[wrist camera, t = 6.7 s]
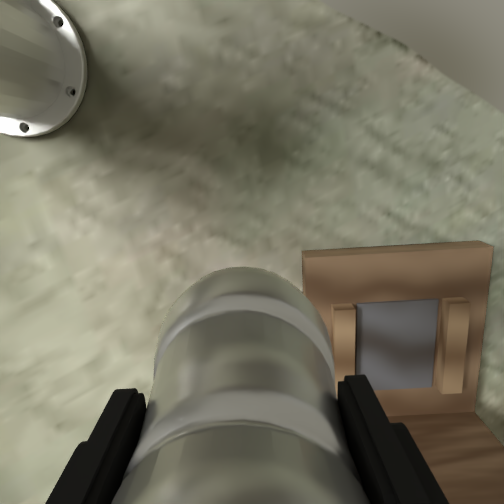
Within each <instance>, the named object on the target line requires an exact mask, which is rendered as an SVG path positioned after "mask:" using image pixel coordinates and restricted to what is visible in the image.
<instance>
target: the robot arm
mask: <svg viewBox="0 0 504 504" xmlns="http://www.w3.org/2000/svg"><path fill="white" fill-rule="evenodd" d="M62 22H63V26H62V27H61V23H62ZM87 74H88V72H87V59H86V55H85V51H84V47H83V43H82V41H81V38H80V36H79V34H78V32H77V29H76V28H75V26H74V25H73V23H72V21H71V20H70V18H69V17H68V15H67V14H66V13H65V12H64V11H63V10H62V9H61V8H60V7H59V5H58V4H56V3H55V2H54V1H53V0H0V133H2V134H6V135H9V136H19V137H35V136H40V135H44V134H48V133H50V132H52V131H54V130H56V129H58V128H60V127H61V126H62V125H64V124H65V123H66V122H68V121H69V119H70V118H71V117H72V116H73V115H74V114H75V112H76V111H77V109H78V107H79V105H80V103H81V102H82V99H83V96H84V93H85V89H86V84H87ZM73 90H75V91H76V93H75V95H73ZM27 126H29V130H28V128H27ZM337 401H338V405H339V409H340V414H341V418H342V422H343V426H344V430H345V434H346V438H347V443H348V447H349V451H350V453H351V456H352V458H353V460H354V463H355V465H356V468H357V470H358V473H359V475H360V478H361V481H362V484H363V488H364V492H365V493H366V495H367V497H368V499H369V501H370V503H371V504H449V502H448V500H447V498H446V497H445V495H444V493H443V491H442V489H441V488H440V486H439V484H438V482H437V481H436V479H435V477H434V475H433V473H432V472H431V470H430V468H429V466H428V464H427V463H426V461H425V459H424V457H423V455H422V454H421V452H420V450H419V448H418V447H417V445H416V443H415V441H414V439H413V438H412V436H411V434H410V432H409V430H408V429H407V427H406V426H405V424H403V423H402V422H398V423H390V422H389V420H388V418H387V416H386V414H385V412H384V410H383V408H382V406H381V404H380V402H379V400H378V398H377V396H376V394H375V392H374V390H373V388H372V386H371V384H370V382H369V380H368V378H367V377H366V375H364V374H362V375H345V376H344V381H338V390H337ZM145 413H146V403H145V397H144V394H143V393H138V391H137V389H135V388H132V389H116V390H115V391H114V392H113V394H112V395H111V397H110V399H109V401H108V403H107V405H106V407H105V409H104V411H103V412H102V414H101V416H100V418H99V420H98V422H97V424H96V426H95V428H94V430H93V431H92V433H91V435H90V437H89V439H88V441H84V442H81V443H80V444H79V445H78V446H77V448H76V449H75V451H74V453H73V455H72V456H71V458H70V460H69V462H68V464H67V465H66V467H65V469H64V471H63V473H62V474H61V476H60V478H59V480H58V482H57V483H56V485H55V487H54V489H53V491H52V493H51V494H50V496H49V498H48V500H47V502H46V503H45V504H111V503H112V501H113V499H114V497H115V495H116V493H117V491H118V490H119V488H120V486H121V484H122V480H123V476H124V473H125V471H126V469H127V467H128V464H129V462H130V460H131V458H132V455H133V453H134V451H135V448H136V446H137V444H138V441H139V437H140V433H141V429H142V425H143V421H144V417H145Z"/></svg>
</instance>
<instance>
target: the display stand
mask: <svg viewBox="0 0 504 504" xmlns="http://www.w3.org/2000/svg"><path fill="white" fill-rule="evenodd" d="M493 248H494V247H493V246H490V245H488V244H486V243H483V242H481V241H462V242H445V243H428V244H411V245H394V246H377V247H360V248H343V249H326V250H309V251H302V275H303V294H304V295H305V296H306V297H307V298H308V299H309V301H310V302H311V303H312V304H313V306H314V307H315V308H316V309H317V311H318V312H319V313H320V315H321V317H322V319H323V321H324V323H325V325H326V327H327V330H328V334H329V338H330V341H331V347H332V352H333V358H334V369H335V390H336V394H337V390H338V381H344V376H345V375H362V374H364V375H366V377H367V378H368V380H369V382H370V384H371V386H372V388H373V390H374V392H375V394H376V396H377V398H378V400H379V402H380V404H381V406H382V408H383V410H384V412H385V414H386V416H387V418H388V420H389V422H390V423H398V422H402V423H403V424H405V426H406V427H407V429H408V430H409V432H410V434H411V436H412V438H413V439H414V441H415V443H416V445H417V447H418V448H419V450H420V452H421V454H422V455H423V457H424V459H425V461H426V463H427V464H428V466H429V468H430V470H431V472H432V473H433V475H434V477H435V479H436V481H437V482H438V484H439V486H440V488H441V489H442V491H443V493H444V495H445V497H446V498H447V500H448V502H449V504H504V446H503V445H502V444H501V443H500V442H499V440H498V439H497V438H496V437H495V436H494V434H493V433H492V432H491V431H490V430H489V428H488V427H487V426H486V425H485V424H484V422H483V421H482V420H481V419H480V418H479V417H478V415H477V414H476V413H475V403H476V394H477V386H478V377H479V369H480V360H481V351H482V343H483V334H484V325H485V317H486V308H487V300H488V291H489V282H490V274H491V265H492V256H493Z"/></svg>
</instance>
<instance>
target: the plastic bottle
mask: <svg viewBox="0 0 504 504" xmlns="http://www.w3.org/2000/svg"><path fill="white" fill-rule="evenodd" d="M111 504H371V503H370V501H369V499H368V497H367V495H366V493H365V492H364V488H363V484H362V481H361V478H360V475H359V473H358V470H357V468H356V465H355V463H354V460H353V458H352V456H351V453H350V451H349V447H348V443H347V438H346V434H345V430H344V426H343V422H342V418H341V414H340V409H339V405H338V401H337V394H336V390H335V369H334V358H333V352H332V347H331V341H330V338H329V334H328V330H327V327H326V325H325V323H324V321H323V319H322V317H321V315H320V313H319V312H318V311H317V309H316V308H315V307H314V306H313V304H312V303H311V302H310V301H309V299H308V298H307V297H306V296H305V295H304V294H303V293H302V292H301V291H300V290H299V289H298V288H296V287H295V286H294V285H293V284H292V283H290V282H289V281H288V280H286V279H284V278H283V277H281V276H279V275H277V274H275V273H272V272H269V271H266V270H263V269H259V268H251V267H232V268H226V269H223V270H219V271H215V272H213V273H211V274H209V275H207V276H205V277H203V278H201V279H200V280H198V281H197V282H196V283H194V284H193V285H192V286H191V287H189V288H188V289H187V290H186V291H185V292H184V293H183V294H182V295H181V296H180V297H179V298H178V299H177V301H176V302H175V303H174V304H173V305H172V307H171V308H170V309H169V311H168V313H167V315H166V317H165V319H164V321H163V323H162V326H161V330H160V334H159V337H158V342H157V347H156V352H155V358H154V382H153V386H152V390H151V394H150V398H149V402H148V406H147V409H146V413H145V417H144V421H143V425H142V429H141V433H140V437H139V441H138V444H137V446H136V448H135V451H134V453H133V455H132V458H131V460H130V462H129V464H128V467H127V469H126V471H125V473H124V476H123V480H122V484H121V486H120V488H119V490H118V491H117V493H116V495H115V497H114V499H113V501H112V503H111Z"/></svg>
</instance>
